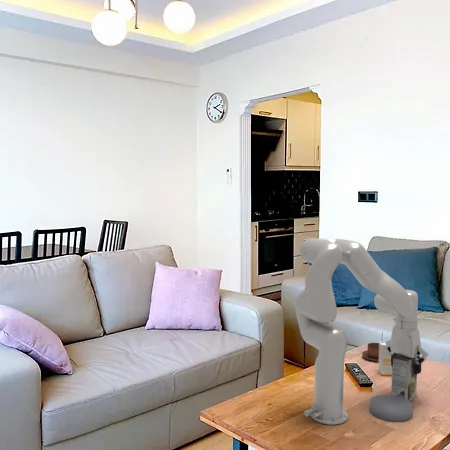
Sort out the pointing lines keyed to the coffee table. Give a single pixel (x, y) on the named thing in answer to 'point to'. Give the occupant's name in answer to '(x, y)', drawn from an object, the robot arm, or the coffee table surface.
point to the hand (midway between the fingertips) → (405, 369)
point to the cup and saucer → (372, 352)
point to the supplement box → (384, 360)
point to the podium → (391, 408)
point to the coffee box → (403, 377)
